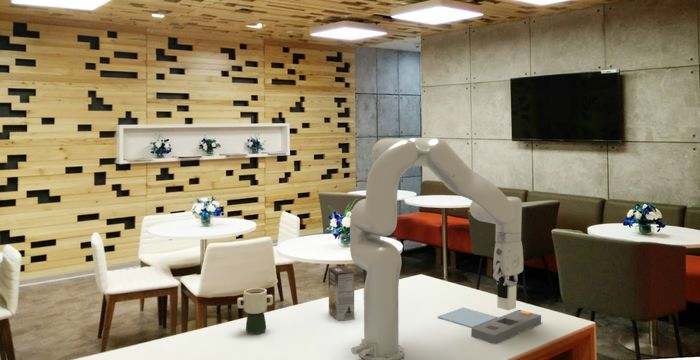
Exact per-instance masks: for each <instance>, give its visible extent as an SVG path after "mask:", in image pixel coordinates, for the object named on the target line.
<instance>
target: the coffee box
mask: <svg viewBox="0 0 700 360" xmlns="http://www.w3.org/2000/svg"><path fill="white" fill-rule="evenodd" d="M328 313H329V315H331V316H332V317H333V318H334V319H335V320H336V321H337V322H341V321H347V320H348V321H349V320H355V271H354V270H352V269H351V268H349V267H347V266H346V265H340V266H331V267H328Z"/></svg>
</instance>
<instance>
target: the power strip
mask: <svg viewBox="0 0 700 360" xmlns="http://www.w3.org/2000/svg"><path fill="white" fill-rule="evenodd" d="M541 323H542V314H538V313H534V312H530V311H527V310H521V309H516V310H514V311H512V312H510V313H506V314H505V315H502V316H500V317H499V316H498V318H496V319H494V320H491V321H489V322H486V323H484V324H481V325H479V326H476V327H474V328H470V329H471V330H470V331H471V332H470V333H471V337H472V338H475V339H477V340H478V339H479V340H482V341H484V342H488V343H491V344H494V345H495V344H497V343H499V342H502V341H504V340H505V339H509V338H511V337H513V336H515V335H517V334H519V333H522V332H523V331H526V330H529V329H530V328H532V327H535V326H538V325H539V324H541ZM510 336H511V337H510Z"/></svg>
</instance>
